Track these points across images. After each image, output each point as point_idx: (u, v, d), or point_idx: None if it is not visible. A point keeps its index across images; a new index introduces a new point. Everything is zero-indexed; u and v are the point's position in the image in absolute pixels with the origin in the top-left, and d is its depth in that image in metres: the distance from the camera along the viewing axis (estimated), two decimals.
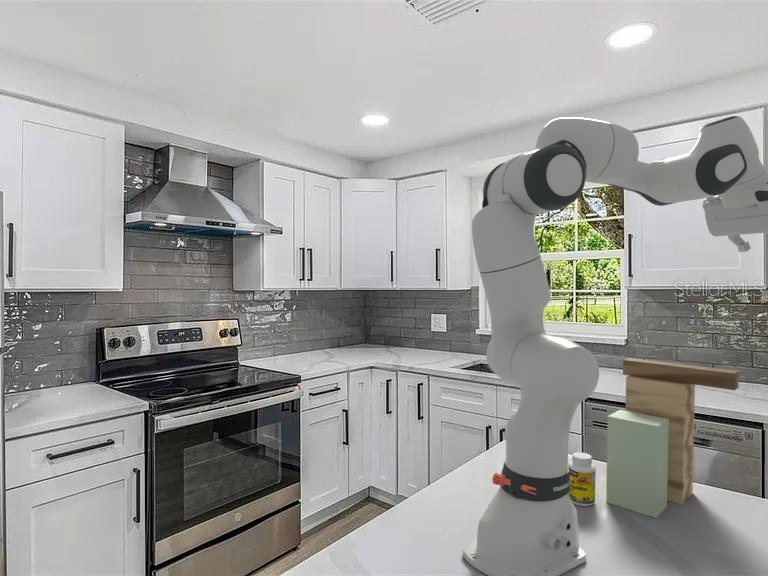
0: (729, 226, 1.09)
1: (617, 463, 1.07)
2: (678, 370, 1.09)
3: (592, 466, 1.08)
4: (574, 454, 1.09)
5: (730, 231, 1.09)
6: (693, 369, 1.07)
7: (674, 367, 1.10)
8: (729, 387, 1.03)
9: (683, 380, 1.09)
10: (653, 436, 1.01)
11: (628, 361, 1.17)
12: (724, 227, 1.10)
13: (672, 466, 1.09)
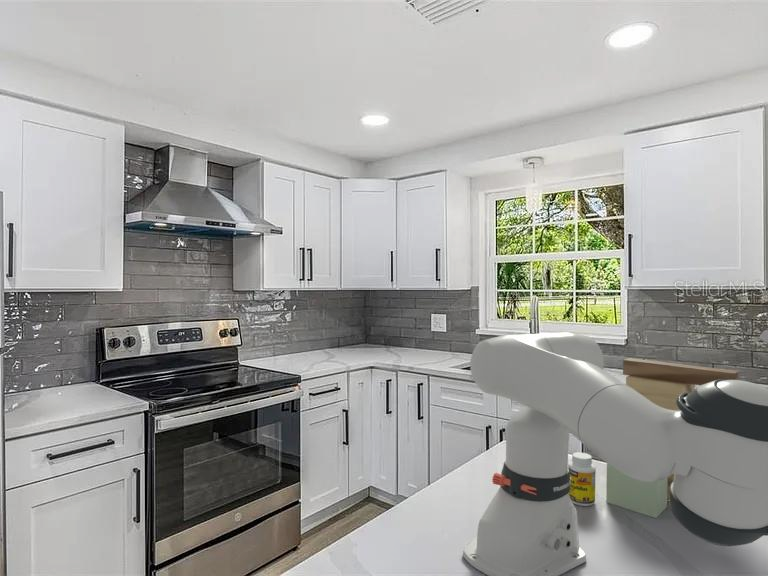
0: None
1: None
2: (678, 370, 1.09)
3: (592, 466, 1.08)
4: (574, 454, 1.09)
5: None
6: (693, 369, 1.07)
7: (674, 367, 1.10)
8: None
9: (683, 380, 1.09)
10: None
11: (628, 361, 1.17)
12: None
13: None
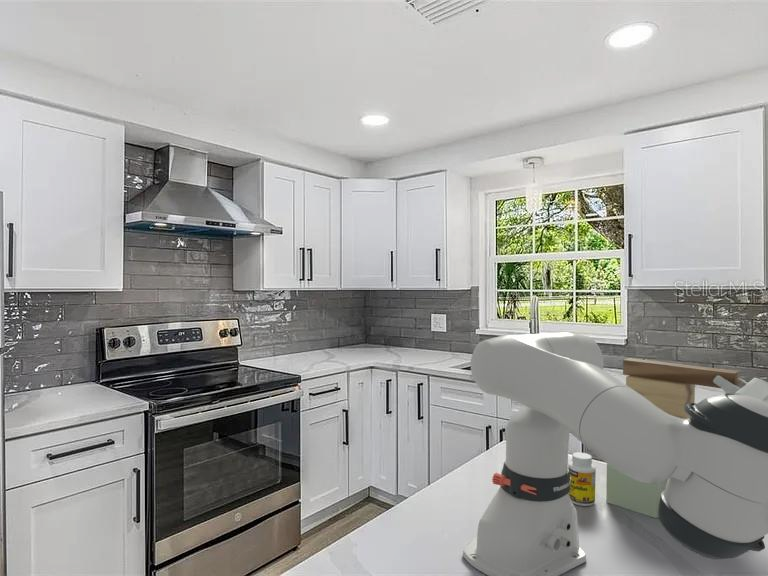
0: None
1: None
2: (678, 370, 1.09)
3: (592, 466, 1.08)
4: (574, 454, 1.09)
5: None
6: (693, 369, 1.07)
7: (674, 367, 1.10)
8: None
9: (683, 380, 1.09)
10: None
11: (628, 361, 1.17)
12: None
13: None
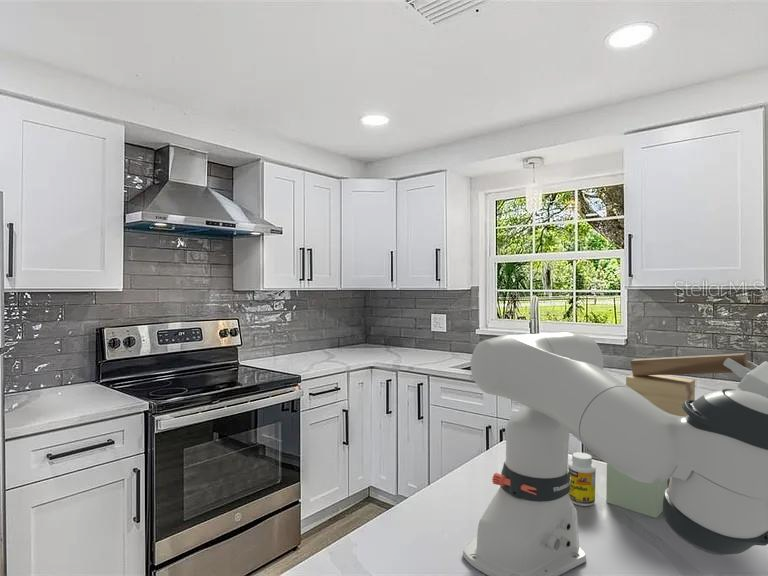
0: None
1: None
2: (686, 361, 1.08)
3: (592, 466, 1.08)
4: (574, 454, 1.09)
5: None
6: (701, 358, 1.06)
7: (682, 359, 1.09)
8: None
9: (693, 371, 1.07)
10: None
11: (635, 361, 1.16)
12: None
13: None
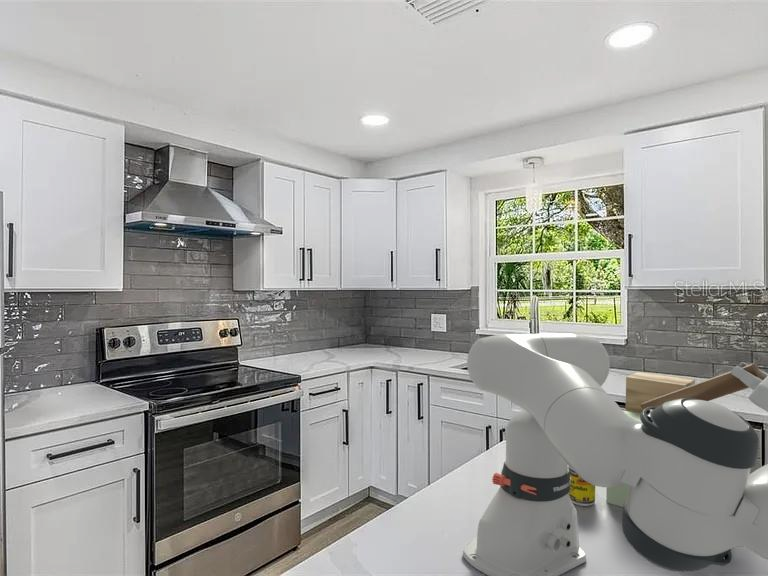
0: None
1: None
2: (697, 389, 0.98)
3: None
4: None
5: None
6: (710, 381, 0.97)
7: (691, 388, 0.99)
8: None
9: (708, 397, 0.97)
10: None
11: (645, 404, 1.05)
12: None
13: None
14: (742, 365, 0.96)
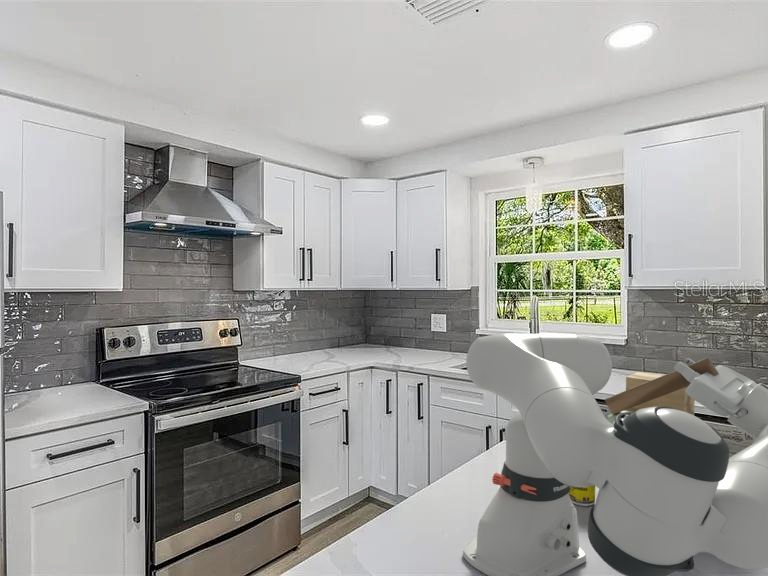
0: None
1: None
2: (656, 383, 1.03)
3: None
4: None
5: None
6: (667, 375, 1.01)
7: (651, 382, 1.03)
8: None
9: (666, 391, 1.01)
10: None
11: (609, 398, 1.09)
12: None
13: None
14: (686, 361, 1.02)
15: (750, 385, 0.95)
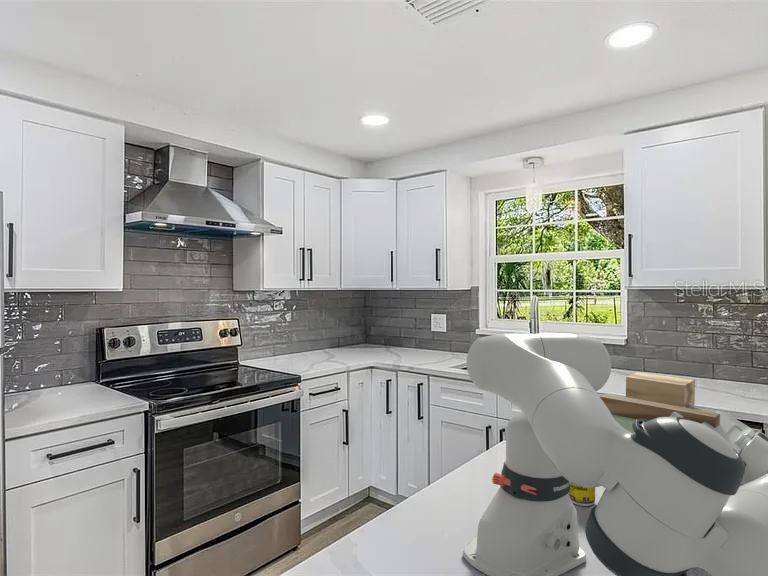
0: None
1: None
2: (656, 410, 1.03)
3: None
4: None
5: None
6: (672, 410, 1.01)
7: (652, 407, 1.03)
8: None
9: None
10: None
11: (605, 398, 1.10)
12: None
13: None
14: (688, 406, 1.04)
15: (748, 435, 0.96)
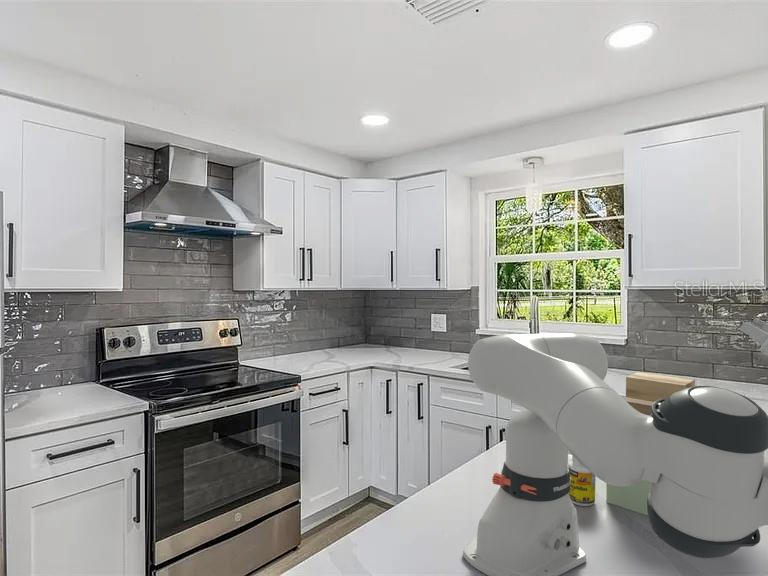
0: None
1: None
2: None
3: None
4: None
5: None
6: None
7: None
8: None
9: None
10: None
11: None
12: None
13: None
14: (756, 321, 0.98)
15: None
